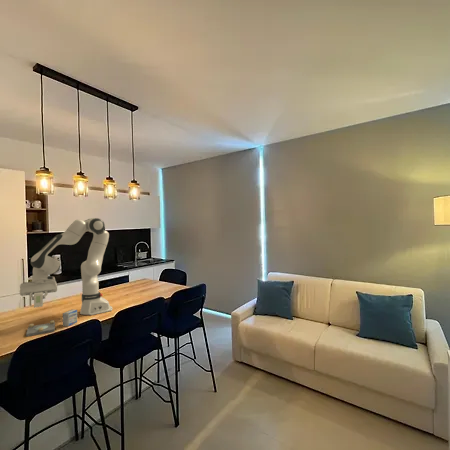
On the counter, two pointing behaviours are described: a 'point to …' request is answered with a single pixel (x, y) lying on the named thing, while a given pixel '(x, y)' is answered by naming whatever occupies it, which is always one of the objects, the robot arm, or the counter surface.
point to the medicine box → (69, 318)
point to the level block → (38, 299)
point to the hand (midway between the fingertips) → (38, 298)
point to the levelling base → (33, 332)
